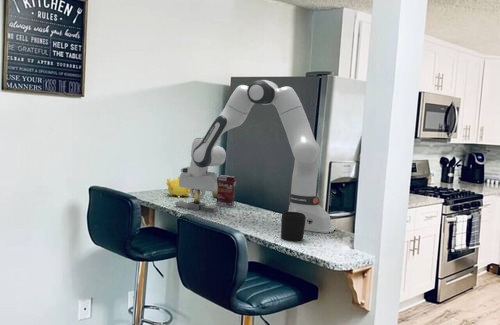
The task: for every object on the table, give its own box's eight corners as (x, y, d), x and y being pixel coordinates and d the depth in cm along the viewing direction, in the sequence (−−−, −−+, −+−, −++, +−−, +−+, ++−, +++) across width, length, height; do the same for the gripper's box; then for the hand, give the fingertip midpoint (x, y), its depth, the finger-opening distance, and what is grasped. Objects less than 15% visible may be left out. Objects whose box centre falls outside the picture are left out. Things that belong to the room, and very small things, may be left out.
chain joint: (218, 211, 241) (219, 205, 241) (212, 213, 235) (212, 206, 235) (181, 205, 251) (181, 199, 250) (173, 206, 245) (174, 200, 245)
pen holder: (308, 240, 194) (310, 215, 194) (293, 243, 188) (296, 217, 187) (289, 235, 201) (292, 210, 200) (275, 237, 194) (277, 212, 193)
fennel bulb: (223, 197, 286) (225, 177, 285) (220, 198, 281) (221, 177, 280) (214, 196, 288) (215, 176, 287) (211, 197, 283) (212, 176, 282)
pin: (200, 205, 243) (201, 189, 243) (197, 206, 241) (198, 190, 240) (195, 204, 245) (196, 189, 244) (192, 205, 242) (193, 189, 241)
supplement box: (215, 205, 256) (218, 175, 255) (218, 204, 261) (220, 174, 260) (231, 207, 254) (234, 177, 253) (234, 206, 259) (236, 176, 258)
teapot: (165, 193, 285) (167, 174, 284) (189, 194, 287) (191, 175, 286) (165, 197, 271) (166, 177, 270) (190, 198, 273) (191, 178, 272)
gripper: (220, 172, 240) (218, 200, 241) (185, 168, 249) (183, 195, 250) (214, 173, 234) (212, 202, 235) (178, 168, 243) (176, 196, 244)
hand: (196, 198), depth 243 cm, fingers closed on pin, 3 cm apart
